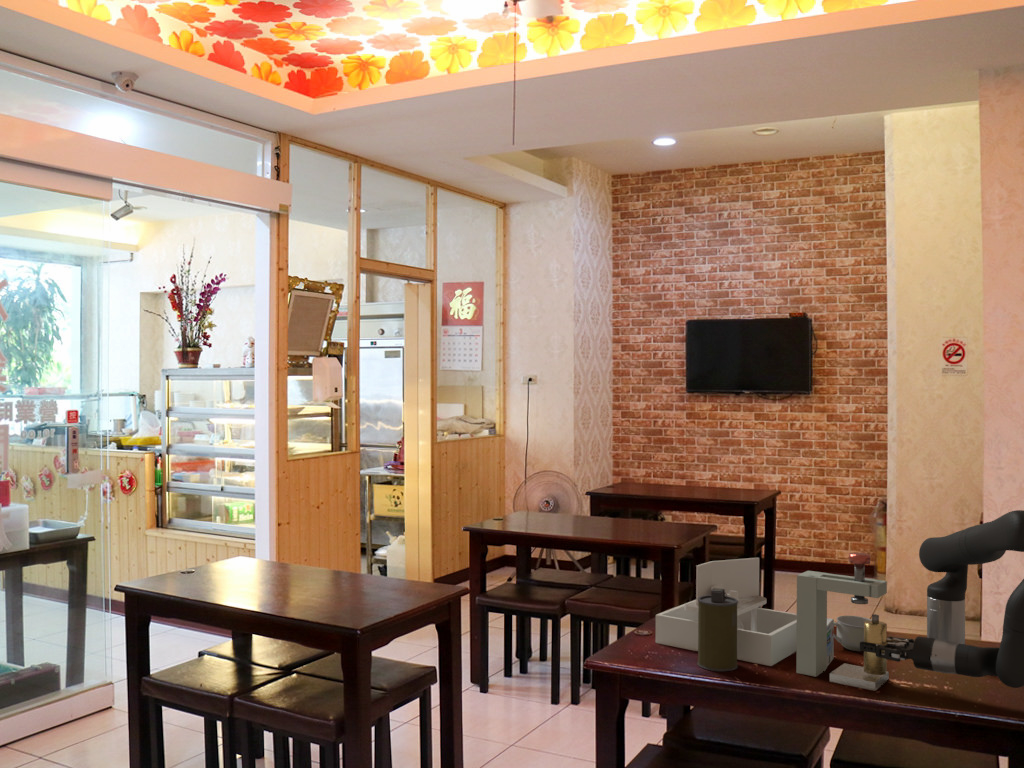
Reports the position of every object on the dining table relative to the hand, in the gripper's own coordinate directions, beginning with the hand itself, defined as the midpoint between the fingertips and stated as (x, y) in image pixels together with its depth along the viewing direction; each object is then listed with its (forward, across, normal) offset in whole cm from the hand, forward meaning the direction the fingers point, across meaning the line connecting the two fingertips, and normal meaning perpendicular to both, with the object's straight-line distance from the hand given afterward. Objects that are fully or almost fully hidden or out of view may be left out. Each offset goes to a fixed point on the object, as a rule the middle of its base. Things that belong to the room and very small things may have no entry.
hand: (864, 643), depth 225 cm
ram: (+1, 0, -10) cm, 10 cm away
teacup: (+12, -28, +10) cm, 32 cm away
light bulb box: (+15, -10, +10) cm, 21 cm away
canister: (+34, +11, +10) cm, 37 cm away
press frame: (+6, 0, +9) cm, 11 cm away
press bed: (+1, 0, +10) cm, 10 cm away
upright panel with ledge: (+41, -11, +10) cm, 43 cm away
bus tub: (+40, -11, +9) cm, 43 cm away
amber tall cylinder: (-3, 0, +7) cm, 7 cm away
